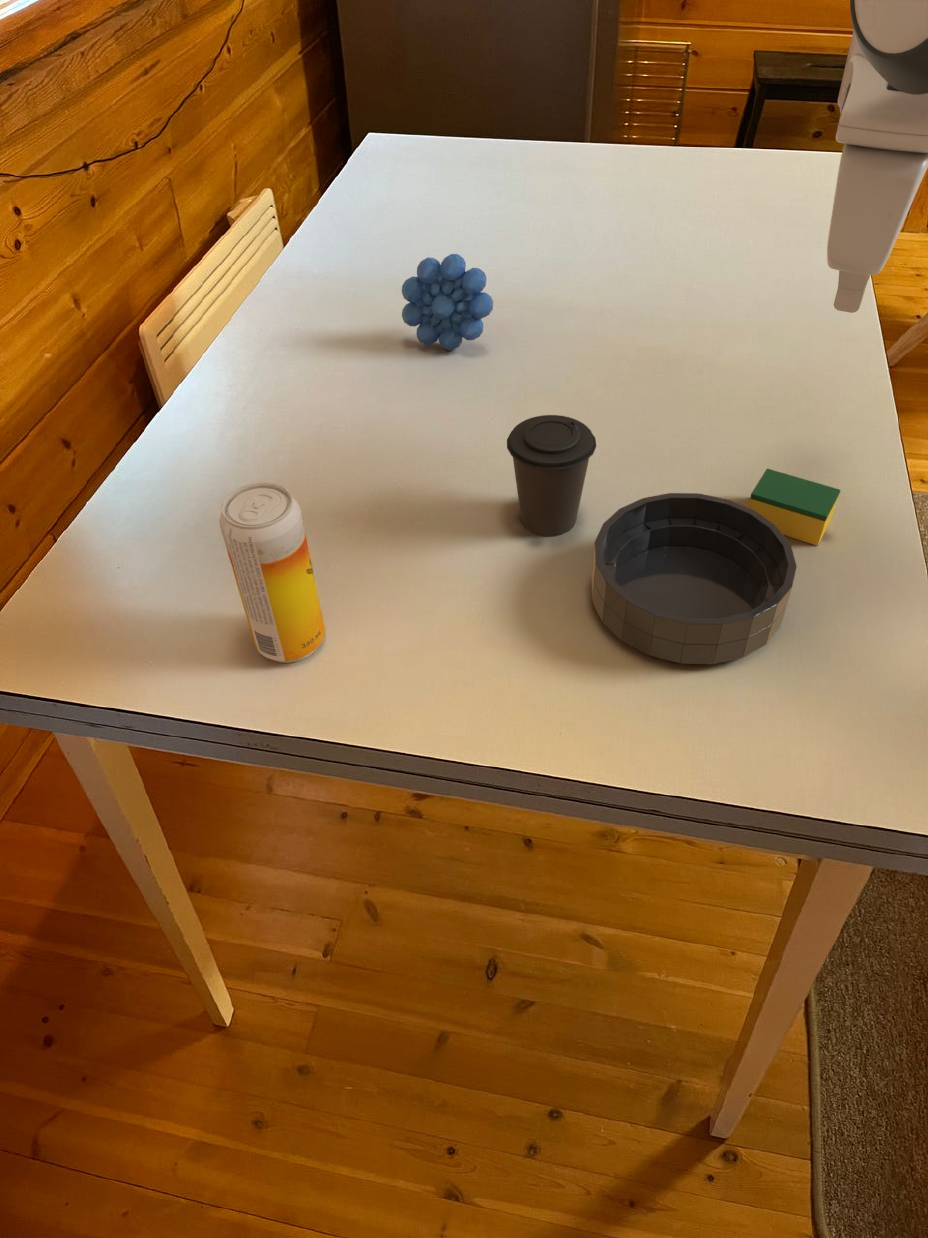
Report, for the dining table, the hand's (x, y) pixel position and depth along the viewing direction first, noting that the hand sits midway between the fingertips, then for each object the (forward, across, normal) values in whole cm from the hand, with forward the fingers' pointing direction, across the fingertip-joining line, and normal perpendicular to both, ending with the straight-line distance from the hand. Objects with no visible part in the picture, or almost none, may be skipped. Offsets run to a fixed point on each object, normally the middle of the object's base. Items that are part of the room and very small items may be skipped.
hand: (857, 279), depth 71 cm
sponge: (+24, 0, 0) cm, 24 cm away
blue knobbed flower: (+24, -18, -45) cm, 54 cm away
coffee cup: (+24, +9, -21) cm, 33 cm away
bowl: (+24, +14, -6) cm, 29 cm away
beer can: (+24, +33, -35) cm, 54 cm away
